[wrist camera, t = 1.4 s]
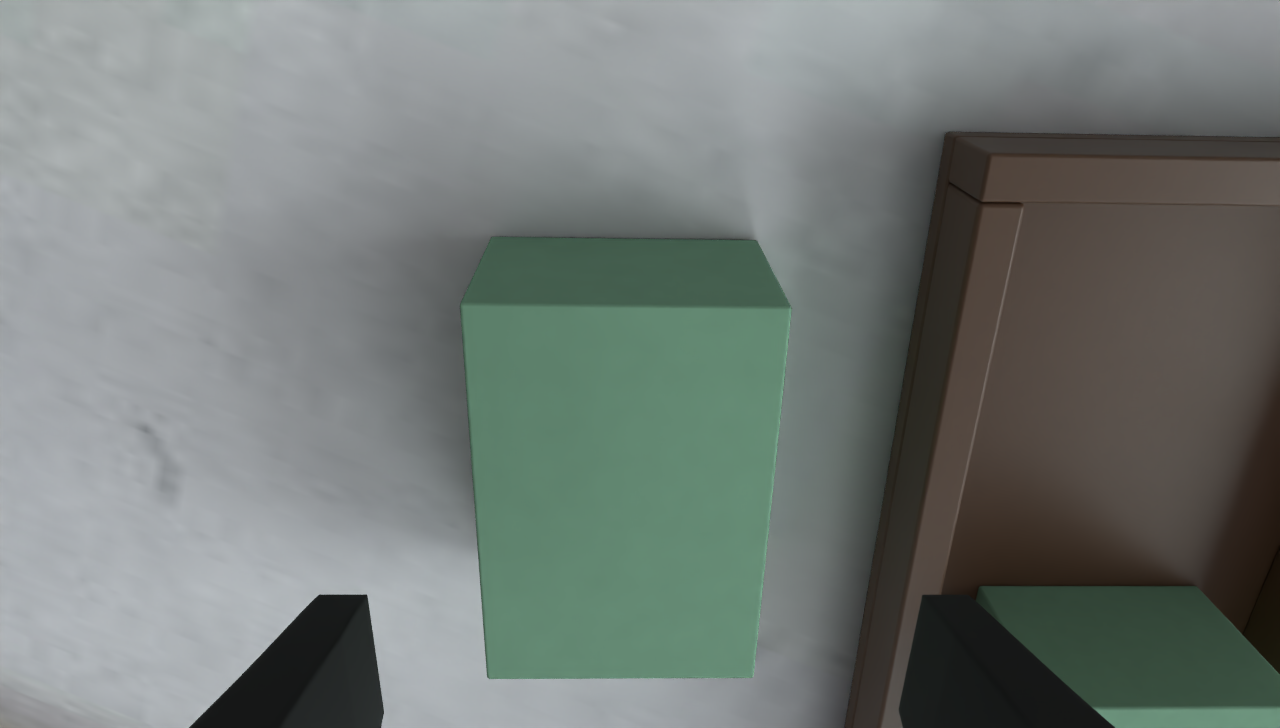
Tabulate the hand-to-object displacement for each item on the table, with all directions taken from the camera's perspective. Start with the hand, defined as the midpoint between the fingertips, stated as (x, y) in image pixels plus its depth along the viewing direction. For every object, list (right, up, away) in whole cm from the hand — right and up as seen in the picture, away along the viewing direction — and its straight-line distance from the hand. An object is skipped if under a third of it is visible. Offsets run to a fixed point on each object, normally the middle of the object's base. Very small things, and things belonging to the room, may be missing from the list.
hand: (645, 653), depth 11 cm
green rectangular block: (0, +3, +6) cm, 7 cm away
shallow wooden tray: (+10, 0, +8) cm, 13 cm away
